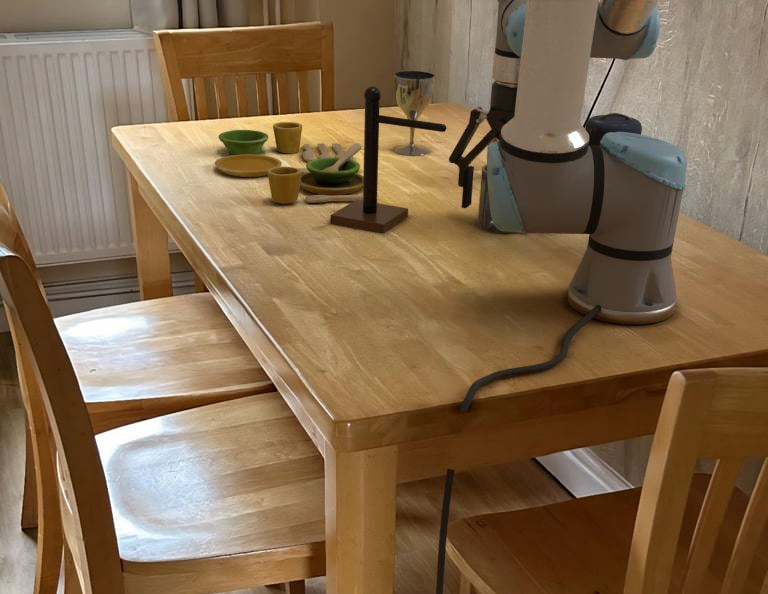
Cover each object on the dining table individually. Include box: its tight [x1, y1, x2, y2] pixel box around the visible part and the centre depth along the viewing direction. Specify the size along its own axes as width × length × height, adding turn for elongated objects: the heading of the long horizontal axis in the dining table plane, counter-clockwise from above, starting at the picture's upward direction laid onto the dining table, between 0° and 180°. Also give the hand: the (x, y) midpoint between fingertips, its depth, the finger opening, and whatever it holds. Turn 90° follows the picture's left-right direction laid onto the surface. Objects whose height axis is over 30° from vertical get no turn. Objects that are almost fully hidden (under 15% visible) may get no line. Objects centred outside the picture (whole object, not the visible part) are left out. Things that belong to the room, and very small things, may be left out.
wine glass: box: [393, 70, 435, 157], centre depth 216 cm, size 8×8×15 cm
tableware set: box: [214, 121, 364, 204], centre depth 202 cm, size 41×28×6 cm
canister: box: [584, 112, 643, 146], centre depth 181 cm, size 10×10×18 cm
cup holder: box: [330, 85, 447, 234], centre depth 174 cm, size 10×18×22 cm, turn 65°
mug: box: [477, 164, 520, 235], centre depth 177 cm, size 13×9×10 cm, turn 155°
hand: (503, 212), depth 180 cm, fingers open, 13 cm apart
